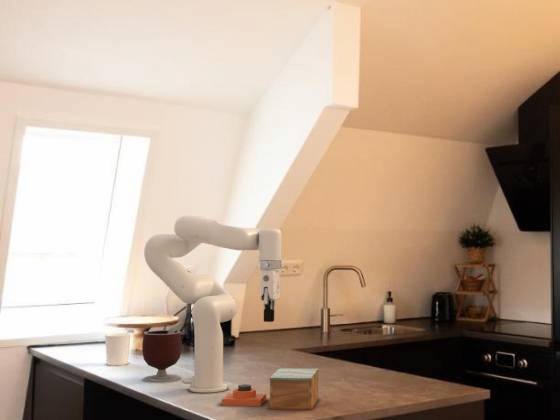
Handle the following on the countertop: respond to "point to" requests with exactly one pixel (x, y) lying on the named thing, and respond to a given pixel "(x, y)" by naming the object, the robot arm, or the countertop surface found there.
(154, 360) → the mate gourd
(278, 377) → the green box lid
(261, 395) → the button block
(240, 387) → the button
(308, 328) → the countertop surface
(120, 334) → the candle holder
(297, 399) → the wooden box
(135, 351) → the countertop surface
